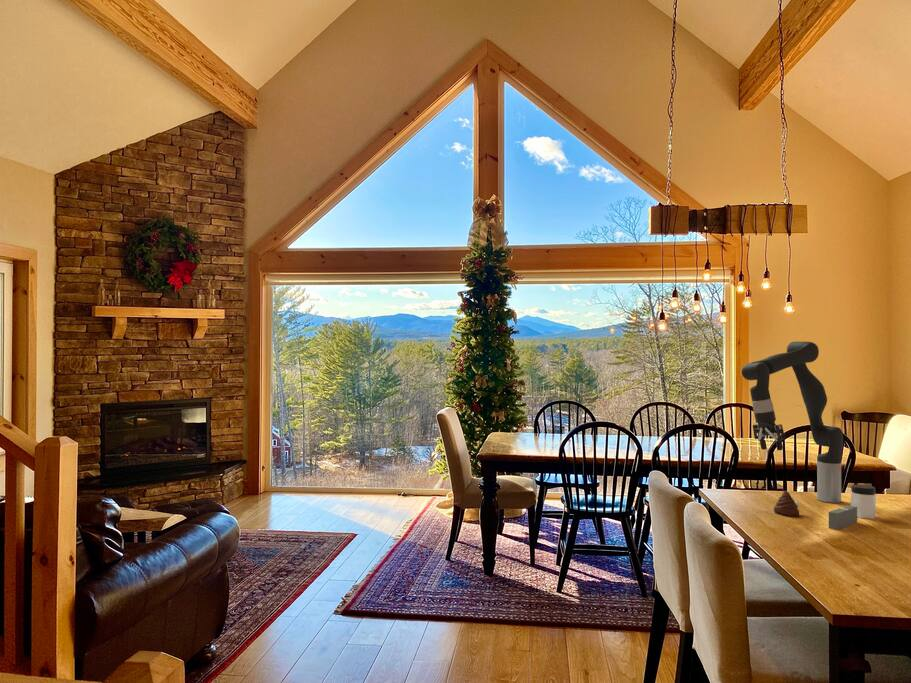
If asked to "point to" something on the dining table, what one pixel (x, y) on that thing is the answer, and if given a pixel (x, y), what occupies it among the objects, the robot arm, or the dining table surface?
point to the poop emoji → (787, 505)
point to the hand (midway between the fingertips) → (772, 449)
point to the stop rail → (842, 517)
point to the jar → (864, 500)
